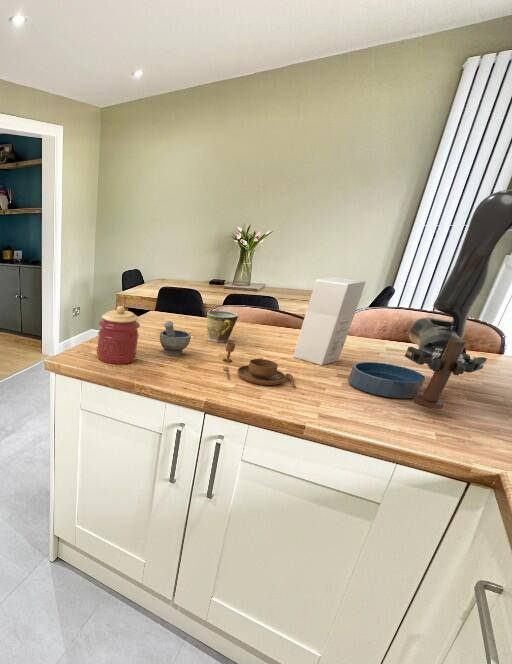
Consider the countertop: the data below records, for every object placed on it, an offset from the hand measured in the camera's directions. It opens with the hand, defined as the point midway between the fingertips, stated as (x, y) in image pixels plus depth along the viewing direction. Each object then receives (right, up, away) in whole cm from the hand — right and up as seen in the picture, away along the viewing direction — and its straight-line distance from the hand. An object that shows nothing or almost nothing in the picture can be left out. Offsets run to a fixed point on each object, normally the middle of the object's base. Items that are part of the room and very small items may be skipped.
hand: (447, 369), depth 88 cm
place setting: (-23, 0, +31) cm, 38 cm away
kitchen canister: (-61, +5, +46) cm, 76 cm away
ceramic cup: (-19, +12, +58) cm, 62 cm away
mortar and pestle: (-41, +7, +48) cm, 64 cm away
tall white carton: (+2, +5, +40) cm, 40 cm away
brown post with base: (+2, -8, +6) cm, 10 cm away
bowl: (+4, -5, +19) cm, 20 cm away
